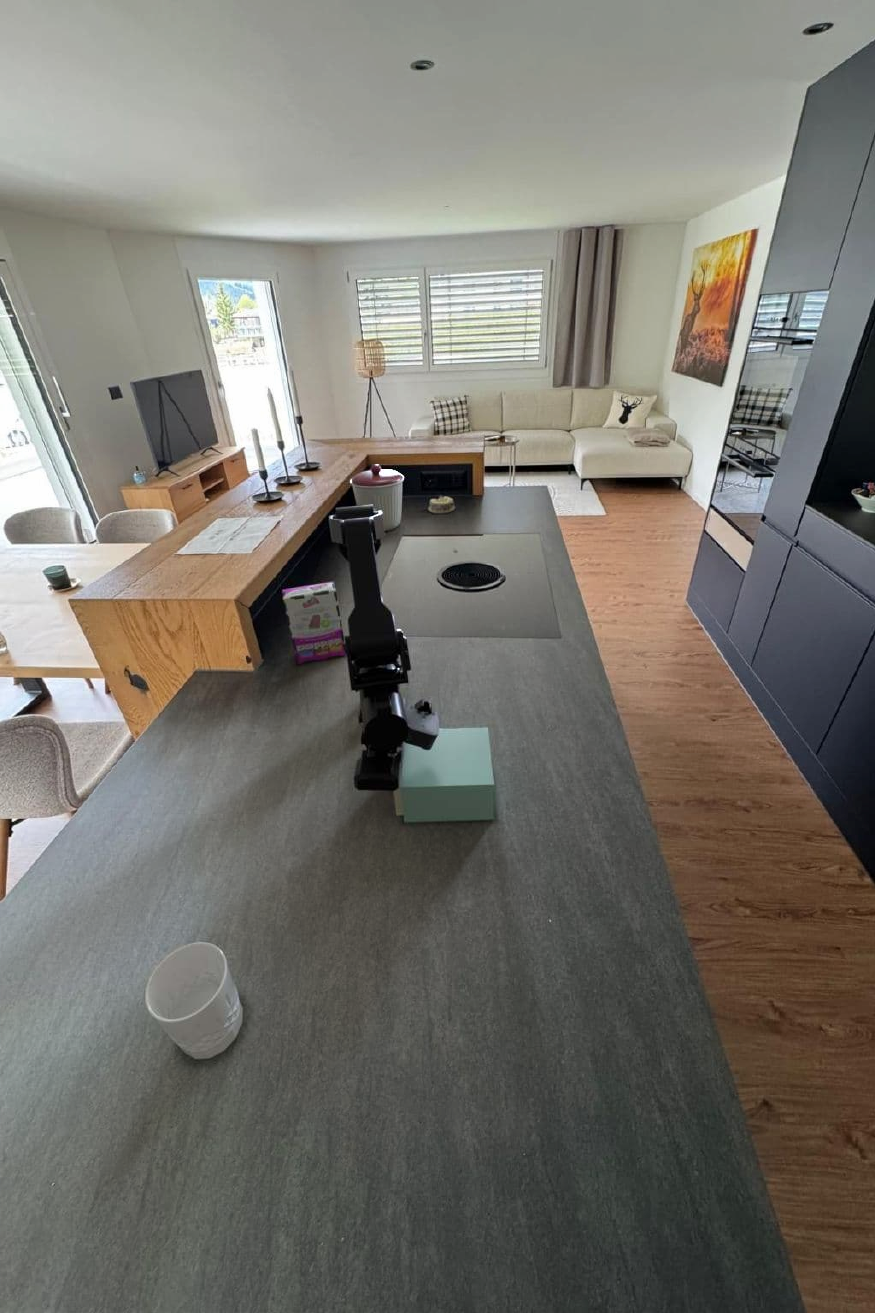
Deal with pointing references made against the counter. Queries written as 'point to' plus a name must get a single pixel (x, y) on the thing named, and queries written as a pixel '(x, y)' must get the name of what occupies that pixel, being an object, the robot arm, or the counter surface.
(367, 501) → the canister
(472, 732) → the pale green block
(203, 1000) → the white cup
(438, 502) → the cake
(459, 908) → the counter surface
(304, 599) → the candy bar box
